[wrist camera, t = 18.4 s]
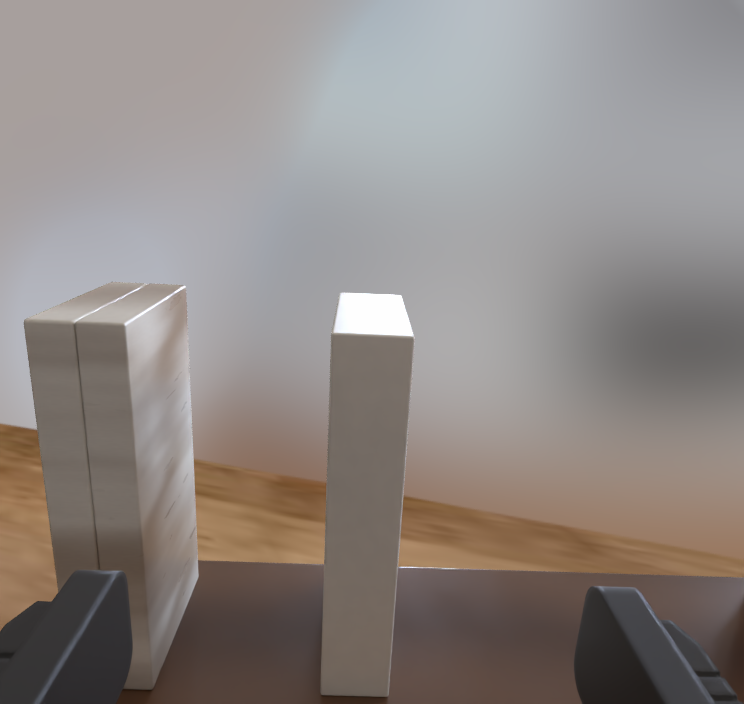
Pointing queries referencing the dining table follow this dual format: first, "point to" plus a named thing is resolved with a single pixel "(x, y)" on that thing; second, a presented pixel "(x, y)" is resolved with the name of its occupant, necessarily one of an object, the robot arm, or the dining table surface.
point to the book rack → (279, 580)
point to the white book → (364, 490)
